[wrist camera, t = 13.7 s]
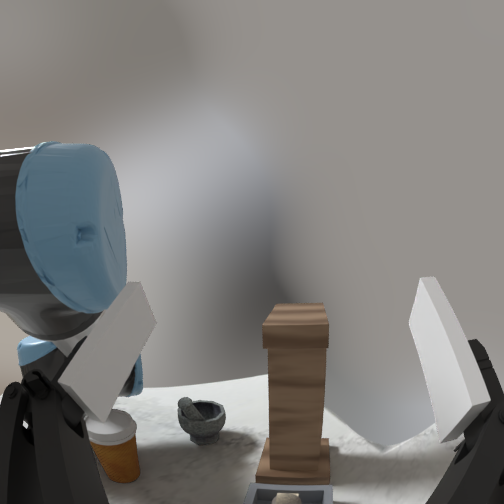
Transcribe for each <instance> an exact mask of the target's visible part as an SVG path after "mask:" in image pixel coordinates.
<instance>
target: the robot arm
mask: <svg viewBox="0 0 504 504" xmlns="http://www.w3.org/2000/svg"><path fill="white" fill-rule="evenodd" d="M126 276H127V260H126V239H125V229H124V224H123V208H122V201H121V194H120V189H119V183H118V179H117V175H116V171H115V168H114V166H113V163H112V161H111V159H110V158H109V156H108V155H107V154H106V153H105V152H104V151H102V150H100V149H99V148H98V147H96V146H94V145H90V144H62V143H59V142H53V141H51V142H44V143H40V144H38V145H36V146H35V147H31V148H21V149H13V150H4V151H0V311H1V312H4V313H6V314H7V316H8V317H9V318H10V319H11V320H12V321H13V322H14V323H15V324H16V325H17V326H18V327H19V328H20V329H21V330H23V331H24V332H25V333H27V334H28V335H30V336H29V337H27V338H24V339H23V340H21V342H20V343H19V344H18V347H17V350H18V358H19V365H20V368H21V372H22V376H23V379H22V382H21V384H20V383H19V382H13V383H11V384H9V385H8V386H7V387H6V389H5V391H4V393H3V397H2V400H1V404H0V504H109V502H108V499H107V497H106V494H105V491H104V488H103V485H102V482H101V479H100V476H99V473H98V469H97V466H96V462H95V459H94V455H93V452H92V448H91V444H90V440H89V435H88V431H87V427H86V422H85V420H84V418H85V416H87V415H88V416H89V417H90V418H91V419H92V420H95V421H97V422H100V423H103V424H105V422H106V420H107V417H108V415H109V413H110V411H111V409H112V407H113V405H114V403H115V401H116V399H117V397H122V396H125V397H130V396H134V395H139V394H140V393H141V392H142V390H143V380H142V379H143V372H142V362H141V354H140V353H141V351H142V349H143V347H144V346H145V344H146V342H147V340H148V338H149V336H150V334H151V333H152V331H153V329H154V327H155V325H156V324H157V322H156V320H155V318H154V315H153V313H152V310H151V308H150V305H149V303H148V300H147V298H146V295H145V293H144V290H143V287H142V285H141V283H140V282H128V283H127V284H126ZM409 326H410V329H411V332H412V335H413V338H414V341H415V345H416V347H417V351H418V354H419V358H420V361H421V365H422V368H423V372H424V375H425V379H426V383H427V387H428V391H429V395H430V399H431V403H432V408H433V412H434V417H435V422H436V427H437V432H438V437H439V443H443V442H447V441H451V440H455V439H457V438H458V437H459V436H460V435H461V434H462V433H463V432H464V437H465V439H464V440H463V441H462V442H461V443H460V444H459V445H458V446H457V447H456V448H455V450H454V451H455V452H456V451H457V450H458V449H459V450H458V452H457V453H456V455H455V457H454V459H453V461H452V463H451V464H450V466H449V468H448V470H447V471H446V473H445V475H444V476H443V478H442V480H441V481H440V483H439V484H438V486H437V487H436V489H435V490H434V492H433V494H432V495H431V496H430V498H429V499H428V501H427V502H426V504H504V393H503V391H502V388H501V385H500V383H499V380H498V378H497V375H496V373H495V371H494V369H493V368H492V367H493V366H492V363H491V361H490V360H489V357H488V354H487V352H486V350H485V348H484V347H483V346H482V344H481V343H480V342H479V341H478V340H477V339H475V340H468V341H467V339H466V336H465V334H464V332H463V330H462V328H461V326H460V324H459V322H458V320H457V318H456V316H455V314H454V312H453V310H452V308H451V306H450V304H449V302H448V300H447V298H446V296H445V294H444V293H443V291H442V289H441V287H440V285H439V284H438V282H437V280H436V278H435V277H420V281H419V285H418V289H417V293H416V298H415V302H414V305H413V309H412V313H411V316H410V320H409ZM23 421H25V422H26V423H27V424H28V428H27V429H26V428H25V427H24V426H23Z"/></svg>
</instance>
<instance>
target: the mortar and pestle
mask: <svg viewBox="0 0 504 504" xmlns="http://www.w3.org/2000/svg"><path fill="white" fill-rule="evenodd" d="M178 407H179V408H178V419H179V423H180V426H181V428H182V429H183V430H184V431H185V432H187V433H188V434H190V440H191V441H192V442H194V443H196V444H201V445H207V444H211V443H214V442H216V441H217V439H218V438H219V435H218V432H219V431H220V430H221V429H222V428H223V426H224V424H225V419H226V415H225V410H224V407H223V405H221V404H218V403H216V402H214V401H202V400H198V401H193V402H192V400H191V399H190V398H188V397H183V398H181V399H180V400H179V401H178Z"/></svg>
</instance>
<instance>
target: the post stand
mask: <svg viewBox="0 0 504 504" xmlns="http://www.w3.org/2000/svg"><path fill="white" fill-rule="evenodd" d="M262 328H263V329H262V331H263V348H264V349H265V348H266V349H268V386H269V438H266V442H265V445H264V449H263V452H262V456H261V459H260V462H259V466H258V469H257V472H256V475H255V476H256V483H263V484H279V485H329V482H330V457H329V438H321V436H322V424H323V411H324V395H325V376H326V348H328V344H329V343H328V342H329V341H328V340H329V323H328V320H327V316H326V312H325V309H324V305H323V303H300V304H299V303H296V304H276V306H275V307H274V309H273V310H272V312H271V313H270V315H269V316H268V318H267V319H266V320H265V322H264V323H263V325H262Z"/></svg>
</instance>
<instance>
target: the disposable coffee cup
mask: <svg viewBox="0 0 504 504" xmlns="http://www.w3.org/2000/svg"><path fill="white" fill-rule="evenodd" d="M84 420H85V422H86V427H87V431H88V435H89V440H90V444H91V446H92V448H93V450H94V452H95V454H96V456H97V457H98V459H99V461H100V463H101V465H102V467H103V468H104V470H105V472H106V474H107V476H108V477H109V478H110V479H111V480H113V481H115V482H118V483H128V482H132V481H134V480H136V479H137V478H138V477H139V475H140V468H139V461H138V454H137V445H136V436H135V433H136V429H137V425H136V423H135V421H134V420H133V419H132V417H131V416H130V414H128V413H127V412H125V411H121V410H117V409H111V411H110V413H109V415H108V417H107V420H106V422H105V424H103V423H100V422H97V421H95V420H92V419H91V418H90V417H89V416H88V415H87V416H85V418H84Z"/></svg>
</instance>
